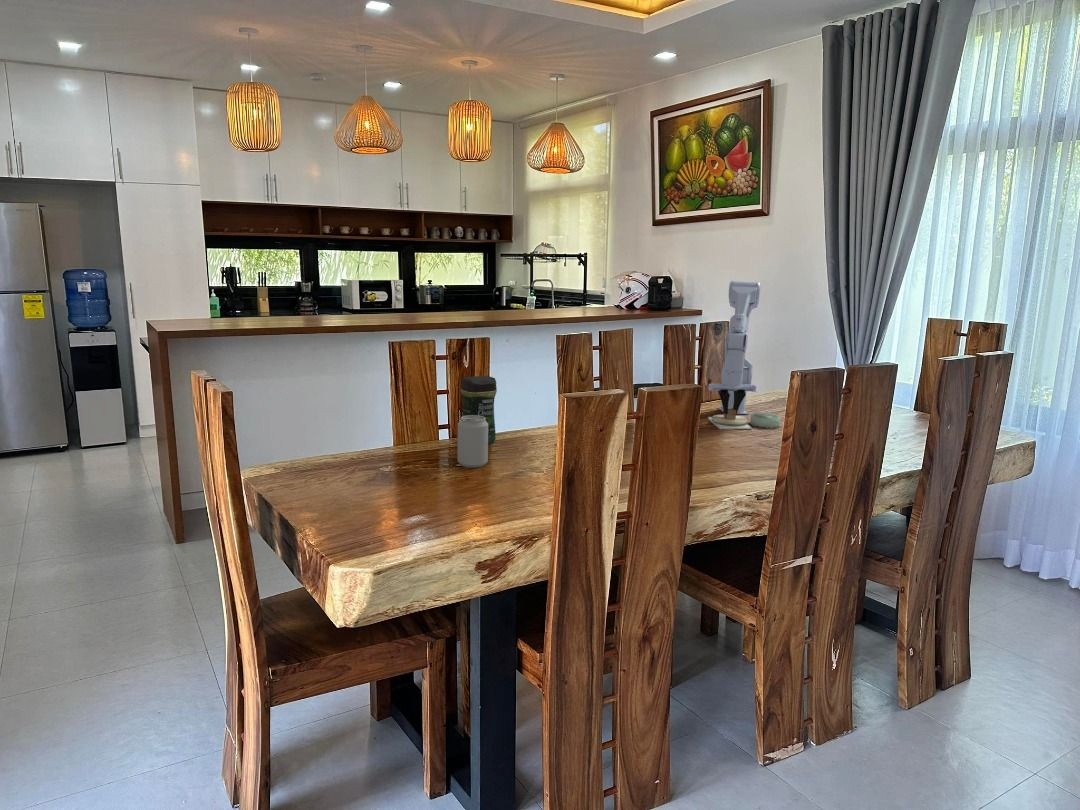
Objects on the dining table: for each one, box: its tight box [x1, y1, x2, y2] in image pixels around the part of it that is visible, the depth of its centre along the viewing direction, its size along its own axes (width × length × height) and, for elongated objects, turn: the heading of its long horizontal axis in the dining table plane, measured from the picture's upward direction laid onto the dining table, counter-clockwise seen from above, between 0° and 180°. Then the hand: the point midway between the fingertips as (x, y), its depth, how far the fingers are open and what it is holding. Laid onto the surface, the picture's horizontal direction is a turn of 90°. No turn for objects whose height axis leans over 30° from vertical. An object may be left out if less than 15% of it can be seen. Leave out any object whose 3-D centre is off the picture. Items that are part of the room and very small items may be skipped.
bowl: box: [749, 412, 781, 428], centre depth 233 cm, size 9×9×3 cm
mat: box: [707, 416, 753, 430], centre depth 232 cm, size 14×10×1 cm
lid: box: [711, 408, 749, 425], centre depth 232 cm, size 11×11×4 cm
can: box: [457, 415, 489, 469], centre depth 181 cm, size 8×8×12 cm
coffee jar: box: [460, 375, 498, 445], centre depth 200 cm, size 10×8×19 cm
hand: (730, 413), depth 232 cm, fingers closed on lid, 2 cm apart
